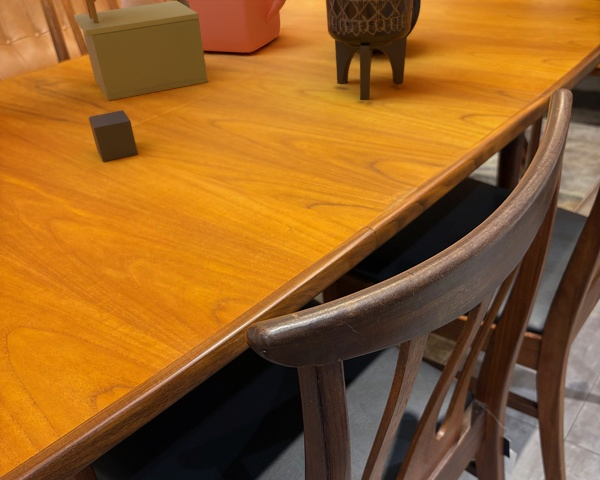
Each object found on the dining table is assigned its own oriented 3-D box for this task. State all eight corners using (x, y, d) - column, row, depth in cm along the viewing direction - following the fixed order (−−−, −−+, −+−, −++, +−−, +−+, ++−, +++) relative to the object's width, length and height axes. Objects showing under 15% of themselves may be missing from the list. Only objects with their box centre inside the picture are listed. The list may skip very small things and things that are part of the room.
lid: (86, 36, 91) (76, -4, 88) (74, 20, 100) (65, -16, 97) (198, 18, 96) (193, -20, 93) (177, 5, 106) (171, -30, 102)
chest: (108, 100, 97) (92, 35, 91) (95, 80, 107) (79, 20, 101) (207, 81, 102) (198, 18, 96) (187, 64, 112) (177, 5, 106)
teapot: (274, 57, 111) (268, -28, 103) (171, 52, 119) (157, -28, 110) (313, 31, 126) (310, -46, 118) (219, 27, 133) (210, -45, 125)
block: (103, 162, 78) (93, 127, 75) (97, 150, 81) (88, 116, 78) (138, 154, 79) (130, 120, 76) (130, 142, 82) (123, 109, 80)
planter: (309, 92, 95) (303, -37, 84) (359, 70, 102) (359, -51, 92) (378, 107, 88) (381, -32, 77) (426, 82, 95) (435, -47, 85)
